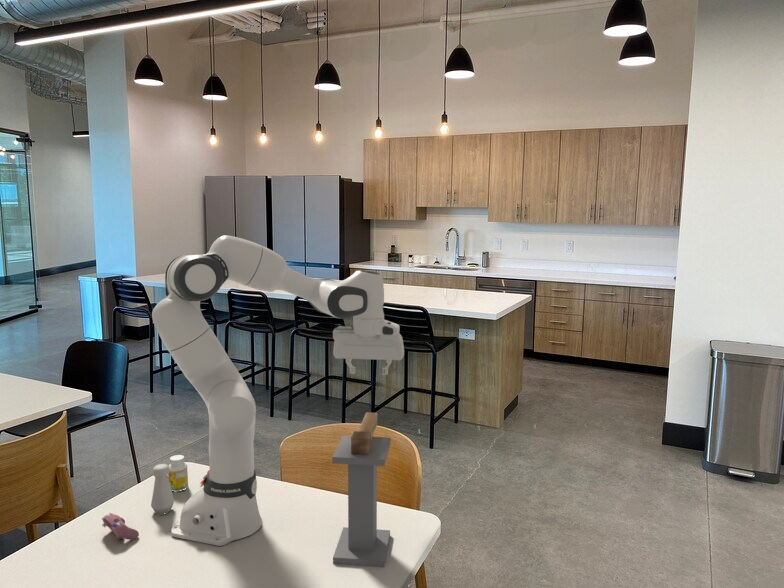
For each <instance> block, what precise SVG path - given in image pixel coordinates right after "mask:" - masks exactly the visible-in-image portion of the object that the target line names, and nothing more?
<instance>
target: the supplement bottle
mask: <svg viewBox="0 0 784 588" xmlns="http://www.w3.org/2000/svg"><path fill="white" fill-rule="evenodd" d="M169 463H170V464H169V465H168V466H169V468H170V471H169V474H168V478H169V482H170V486H171V490H173V491H180V490H183V489H185V488H187V487H189V474H188V473H189V471H188V464H187V462H185V456H184V455H182V454H175V455H172V456H170V457H169ZM187 489H188V488H187Z"/></svg>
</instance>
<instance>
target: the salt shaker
mask: <svg viewBox="0 0 784 588" xmlns="http://www.w3.org/2000/svg"><path fill="white" fill-rule="evenodd" d="M169 471H170V468H169V465H168V463H167V464H166V463H159V464H156V465H155V466H153V468H152V475H153V476H154V483H153V490H152V496H151V503H150V507H151V508H152V510H153V511H154V513H155V515H158V514H163V515H165V514H164V513H167V514H169V513H170V512H171V510H172V509H171V508H173V506H174V503H175V499H174V495H173V492H172V490H171V486H170V482H169V478H168V474H169ZM169 511H170V512H169ZM168 512H169V513H168Z"/></svg>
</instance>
